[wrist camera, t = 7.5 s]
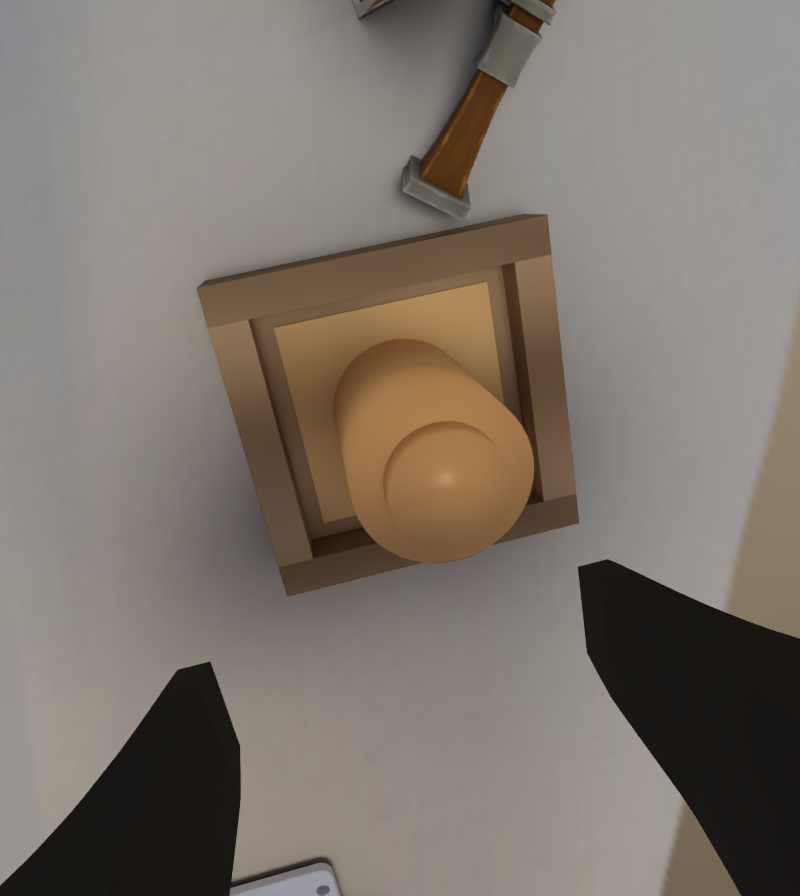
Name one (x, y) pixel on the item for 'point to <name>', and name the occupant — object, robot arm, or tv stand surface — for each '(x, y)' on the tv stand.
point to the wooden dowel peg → (429, 453)
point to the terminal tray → (363, 326)
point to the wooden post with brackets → (477, 107)
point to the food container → (368, 6)
